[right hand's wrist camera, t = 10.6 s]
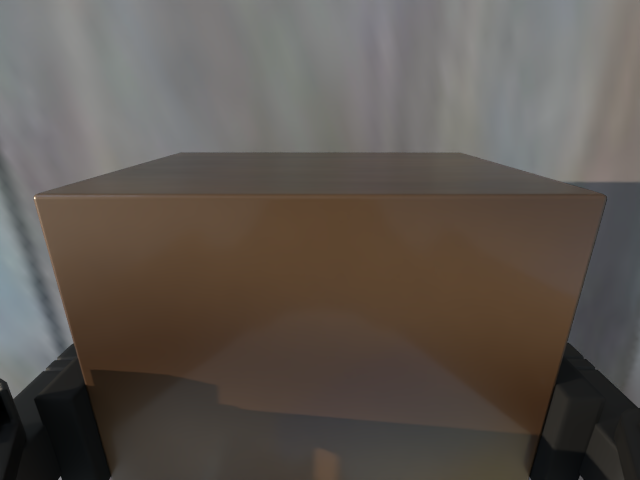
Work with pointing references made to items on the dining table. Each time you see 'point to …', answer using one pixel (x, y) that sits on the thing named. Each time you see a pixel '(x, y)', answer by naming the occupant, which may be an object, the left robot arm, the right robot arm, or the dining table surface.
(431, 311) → the thick board
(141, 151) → the dining table surface
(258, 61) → the dining table surface
